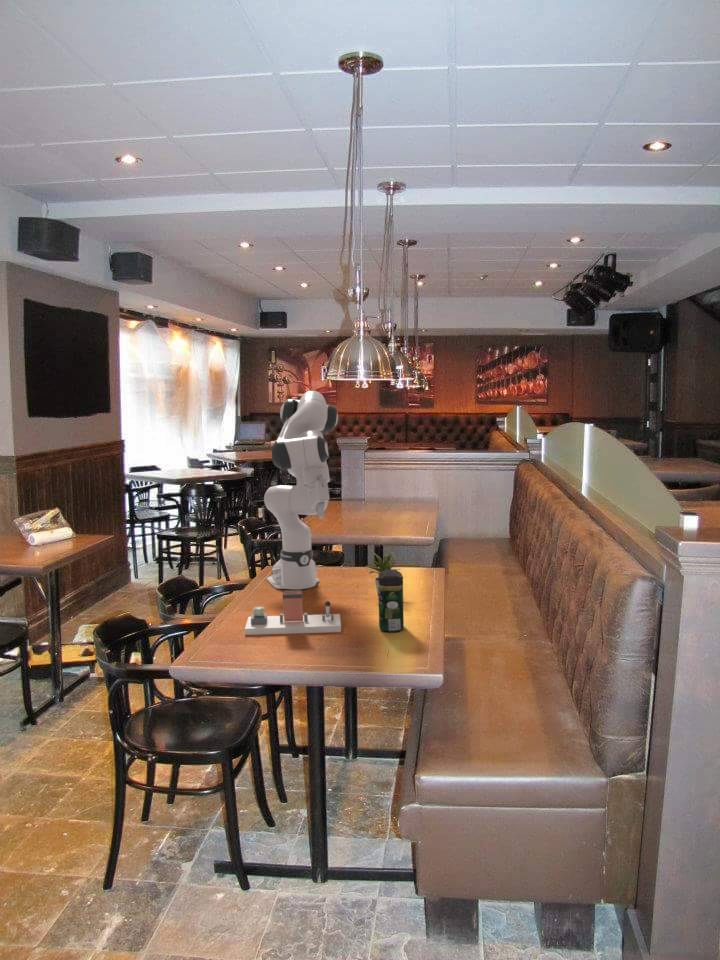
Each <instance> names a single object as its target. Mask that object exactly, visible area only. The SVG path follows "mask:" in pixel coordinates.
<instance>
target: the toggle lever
mask: <svg viewBox="0 0 720 960" xmlns="http://www.w3.org/2000/svg"><path fill="white" fill-rule="evenodd" d="M324 605H325V614H326V617H330V614H331V611H330V606H331V601H329V600H326V601H325V603H324Z"/></svg>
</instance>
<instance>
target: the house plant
mask: <svg viewBox="0 0 720 960" xmlns="http://www.w3.org/2000/svg"><path fill="white" fill-rule="evenodd" d="M387 554H388V553H387V552H386V553H385V556H384V558H383V559H382V558H381V557H380V556H379V555H378V554H376V553H374V552H373V555H374V556H376V558H377V561H375V560H374V559H372V558H369V557H368V560H370V561H372V562H373V565H374V566H371V565H364V567H366V568H369V570H371V571H368V572H367V574H368V575H371V574H374V573H375V574H376V575H377V574H378V575H379V573H381V572H382V571H384V570H391V569H393V566H394V565H395V564H396V563H397V562H398V560H397V557H395V555H393V554H394V551H392V552H391V553H390V554H388V555H387ZM373 570H374V571H373ZM396 570H397V571H399V570H400V571H402V570H401V568H398V569H396ZM378 578H379V576H377V577H375V578H374V582H375V588H376V593H377V595H378Z"/></svg>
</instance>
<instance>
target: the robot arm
mask: <svg viewBox="0 0 720 960" xmlns="http://www.w3.org/2000/svg"><path fill="white" fill-rule="evenodd" d="M279 415H280V420H281V421H280V422H282V428H281V431H280V432H279V435H278V437H277V439H276V440H275V442H274V443H273V445H272V446H271V453H270V455H271V460H272V464H273V465H274V466H275V467H277V468H278V469H279V470H282V471H285V470H287V472H288V473H289V474H290V475H291V476H293V477H294V478H295V479H296V485H290V484H289V485H285V484H280V485H273V486H270V487H268V489H267V490H266V491H265V493H264V497H263V502H264V505H265V508H266V509H267V510H268V511H270V513H271V514H273V516H274V518H276V520H277V522H278V524H279V528H280V531H281V540H282V549H281V550H280V557H279V558H280V559H279V560H278V561H277V562H276V563H274V564H273V566H272V569H271V574H272V575H270V576H267V578H266V581H267V582H268V583H269V584H270V585H271V586H273V588H275V589H276V590H281V589H282V590H305V589H310V588H313V587H315V586H316V585H317V583H319V582H320V579H319V578H318V577H317V568H316V562H315V561H314V560H313V553H314V552H313V548H312V530H311V529H310V527H309V526H308V525H307V524H306V523H304V522H303V521H302V520H301V519H300V517H299V515H301V516H302V515H303V516H314V515H317V519H318V520H320V519H324V518H325V511H326V509H327V507H328V504H329V501H330V492H329V490H330V489H329V484H328V483H330V482H331V479H330V472H329V471H330V470H329V465H328V463H327V460H329V458H330V452H329V443H328V441H327V440H326V439H325V438H324V436H325V435H326V434H327V433H331V432H332V431H333V430H335V427H336V426H337V424H338V421H339V414H338V410H337V408H336V407H335V406H334V405H332V404H328V403H327V401H326V398H325V397H324V396H323V394H322V393H321V392H319V391H316V390H308V391H306V392H304V393H303V395H301V397H300V399H296V398H288V399H286V400H285V401H284V402H283V403H282V405H281V406H280V411H279Z"/></svg>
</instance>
